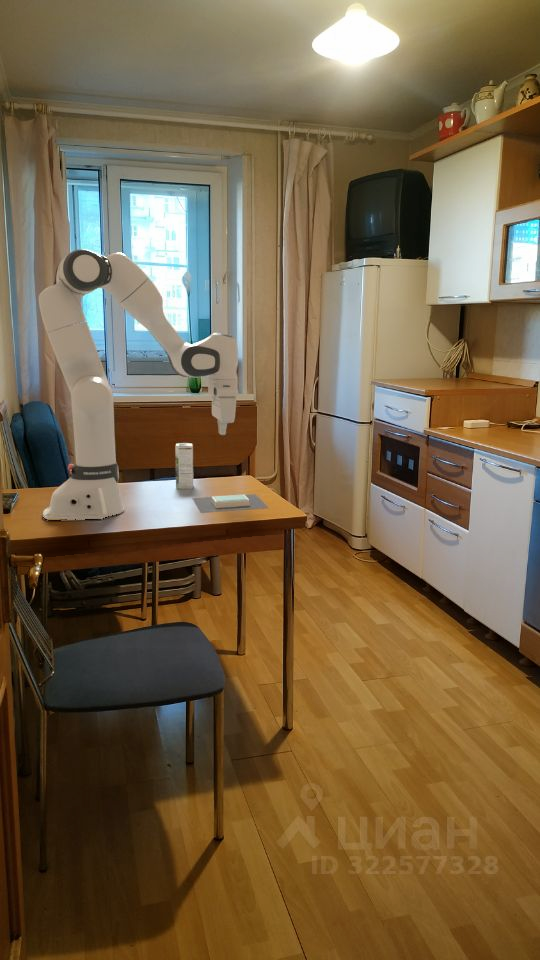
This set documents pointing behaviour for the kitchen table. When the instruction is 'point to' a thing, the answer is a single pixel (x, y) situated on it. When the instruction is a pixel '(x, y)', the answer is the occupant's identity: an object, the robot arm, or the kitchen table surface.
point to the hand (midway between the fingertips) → (222, 434)
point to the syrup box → (184, 465)
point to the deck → (230, 501)
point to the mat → (207, 506)
